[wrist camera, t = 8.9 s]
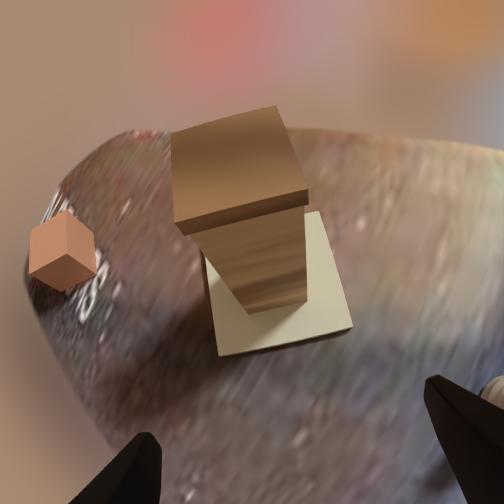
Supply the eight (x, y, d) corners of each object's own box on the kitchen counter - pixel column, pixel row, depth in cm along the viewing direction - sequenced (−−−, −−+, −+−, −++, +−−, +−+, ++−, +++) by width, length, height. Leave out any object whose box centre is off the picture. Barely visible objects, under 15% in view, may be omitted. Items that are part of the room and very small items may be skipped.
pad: (351, 328, 22) (352, 326, 22) (220, 356, 23) (218, 355, 23) (318, 214, 27) (318, 210, 26) (205, 241, 28) (203, 238, 27)
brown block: (310, 302, 23) (308, 188, 11) (246, 317, 24) (174, 222, 11) (294, 245, 25) (276, 105, 13) (236, 259, 26) (170, 133, 13)
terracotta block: (97, 274, 28) (67, 253, 24) (61, 292, 28) (29, 274, 24) (93, 233, 31) (66, 209, 26) (59, 251, 31) (30, 230, 26)
